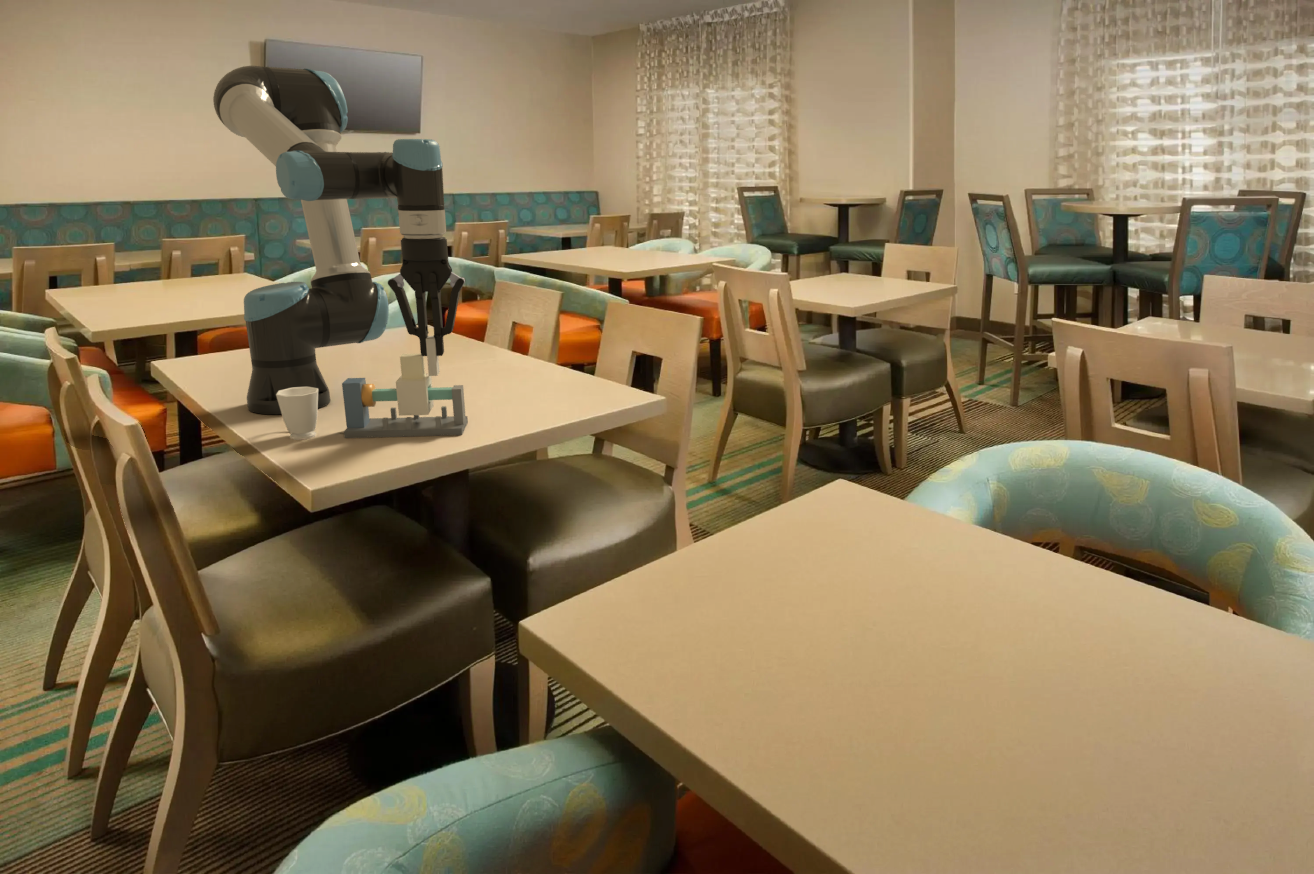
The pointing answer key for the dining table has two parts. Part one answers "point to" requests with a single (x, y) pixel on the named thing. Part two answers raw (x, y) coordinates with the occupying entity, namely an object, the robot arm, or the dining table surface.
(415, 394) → the sleeve
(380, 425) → the sliding block rail
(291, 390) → the cup
